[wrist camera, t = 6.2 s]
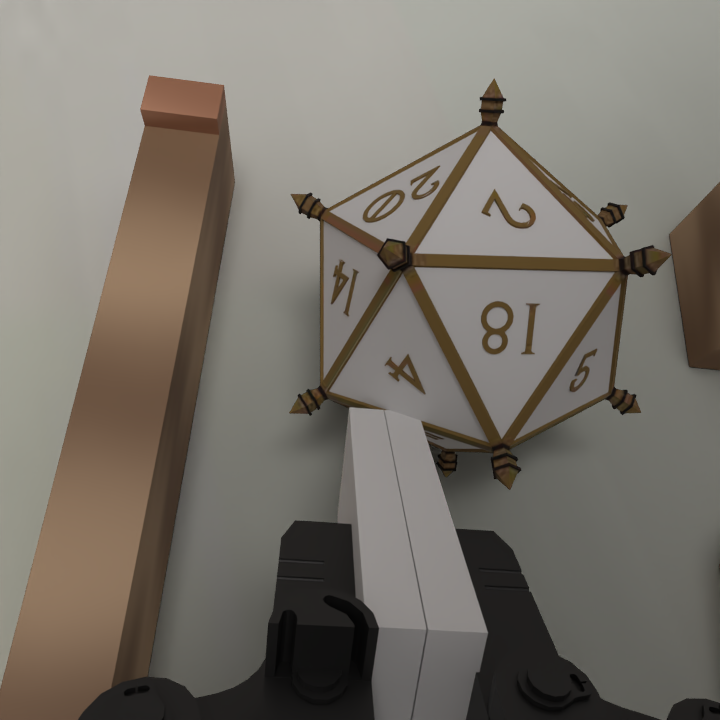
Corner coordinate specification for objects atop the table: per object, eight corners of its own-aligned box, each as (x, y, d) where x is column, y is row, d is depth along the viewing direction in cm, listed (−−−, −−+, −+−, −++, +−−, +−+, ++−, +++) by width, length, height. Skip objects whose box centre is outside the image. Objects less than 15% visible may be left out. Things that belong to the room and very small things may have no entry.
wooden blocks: (1018, 884, 16) (1250, 964, 12) (24, 838, 14) (-72, 914, 10) (845, 255, 23) (955, 181, 19) (173, 174, 21) (149, 75, 17)
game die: (383, 472, 21) (173, 492, 12) (380, 226, 23) (186, 82, 14) (684, 476, 18) (695, 509, 9) (662, 178, 19) (650, -67, 10)
